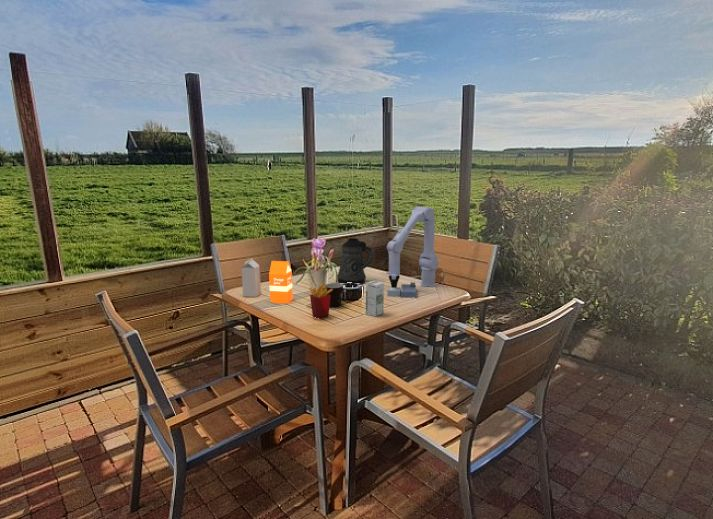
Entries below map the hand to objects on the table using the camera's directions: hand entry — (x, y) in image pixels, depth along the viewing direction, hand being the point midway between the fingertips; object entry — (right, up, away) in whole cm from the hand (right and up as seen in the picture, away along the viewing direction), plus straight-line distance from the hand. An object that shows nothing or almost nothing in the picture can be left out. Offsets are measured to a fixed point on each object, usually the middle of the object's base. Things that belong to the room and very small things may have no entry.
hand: (394, 289), depth 220 cm
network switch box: (+7, -2, -2) cm, 8 cm away
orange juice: (-56, -5, -12) cm, 58 cm away
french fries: (-34, -10, -36) cm, 50 cm away
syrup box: (-12, -9, -32) cm, 35 cm away
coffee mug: (-29, -6, -20) cm, 36 cm away
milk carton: (-73, -3, -3) cm, 73 cm away
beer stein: (-21, +3, +23) cm, 31 cm away
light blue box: (0, -2, -4) cm, 4 cm away
